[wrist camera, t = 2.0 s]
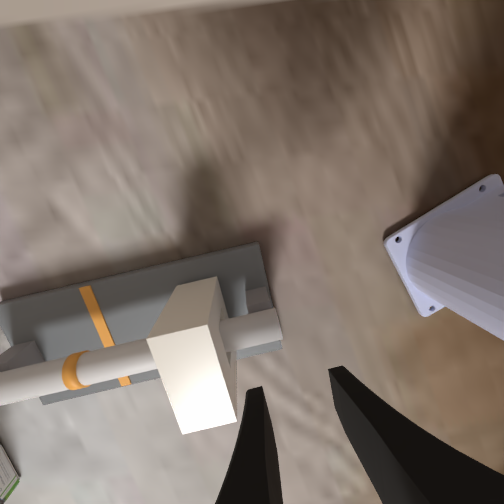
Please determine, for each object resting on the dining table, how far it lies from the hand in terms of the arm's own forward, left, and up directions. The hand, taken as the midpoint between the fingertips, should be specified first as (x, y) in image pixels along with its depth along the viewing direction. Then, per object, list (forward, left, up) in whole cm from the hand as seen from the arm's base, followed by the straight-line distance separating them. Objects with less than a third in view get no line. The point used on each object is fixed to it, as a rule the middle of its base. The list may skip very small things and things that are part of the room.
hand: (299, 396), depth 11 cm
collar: (+5, -2, -9) cm, 10 cm away
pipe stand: (+9, -3, -10) cm, 14 cm away
